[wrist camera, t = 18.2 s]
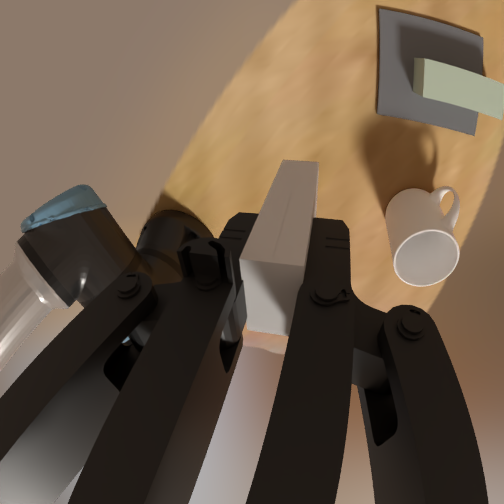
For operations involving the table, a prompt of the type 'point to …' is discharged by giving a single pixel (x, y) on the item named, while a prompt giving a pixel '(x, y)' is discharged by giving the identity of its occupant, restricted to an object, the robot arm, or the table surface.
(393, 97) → the mat
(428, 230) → the mug
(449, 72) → the block
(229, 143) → the table surface
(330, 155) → the table surface
